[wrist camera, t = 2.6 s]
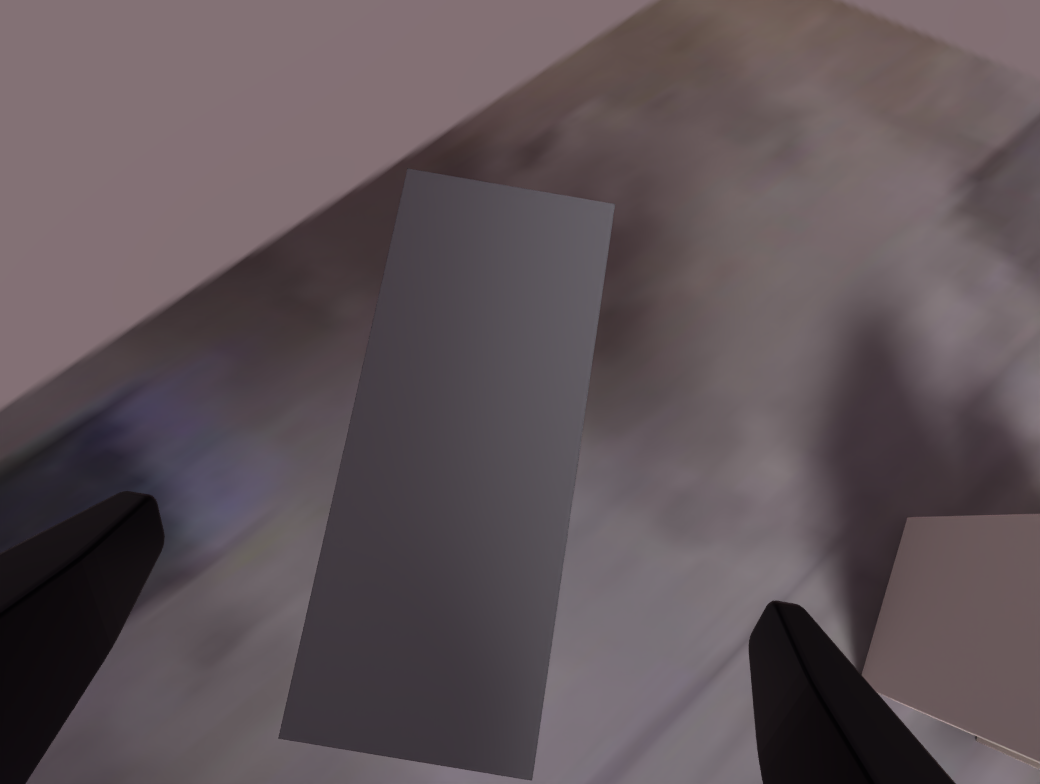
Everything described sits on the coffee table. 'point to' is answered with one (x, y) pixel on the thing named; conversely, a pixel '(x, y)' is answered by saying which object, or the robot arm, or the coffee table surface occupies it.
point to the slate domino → (456, 482)
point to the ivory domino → (965, 627)
